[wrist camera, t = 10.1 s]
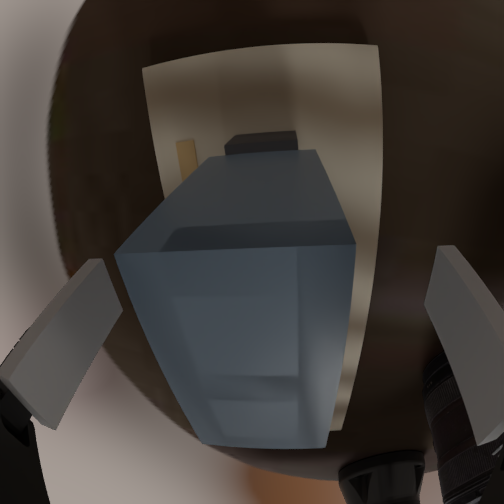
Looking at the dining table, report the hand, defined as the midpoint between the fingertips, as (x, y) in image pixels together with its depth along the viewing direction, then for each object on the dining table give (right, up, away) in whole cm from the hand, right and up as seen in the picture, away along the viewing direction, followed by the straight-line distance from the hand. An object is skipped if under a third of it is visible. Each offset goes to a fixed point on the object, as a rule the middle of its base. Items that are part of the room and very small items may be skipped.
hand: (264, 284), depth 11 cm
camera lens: (+19, -10, +13) cm, 25 cm away
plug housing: (0, +2, +3) cm, 3 cm away
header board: (+2, -3, +11) cm, 11 cm away
